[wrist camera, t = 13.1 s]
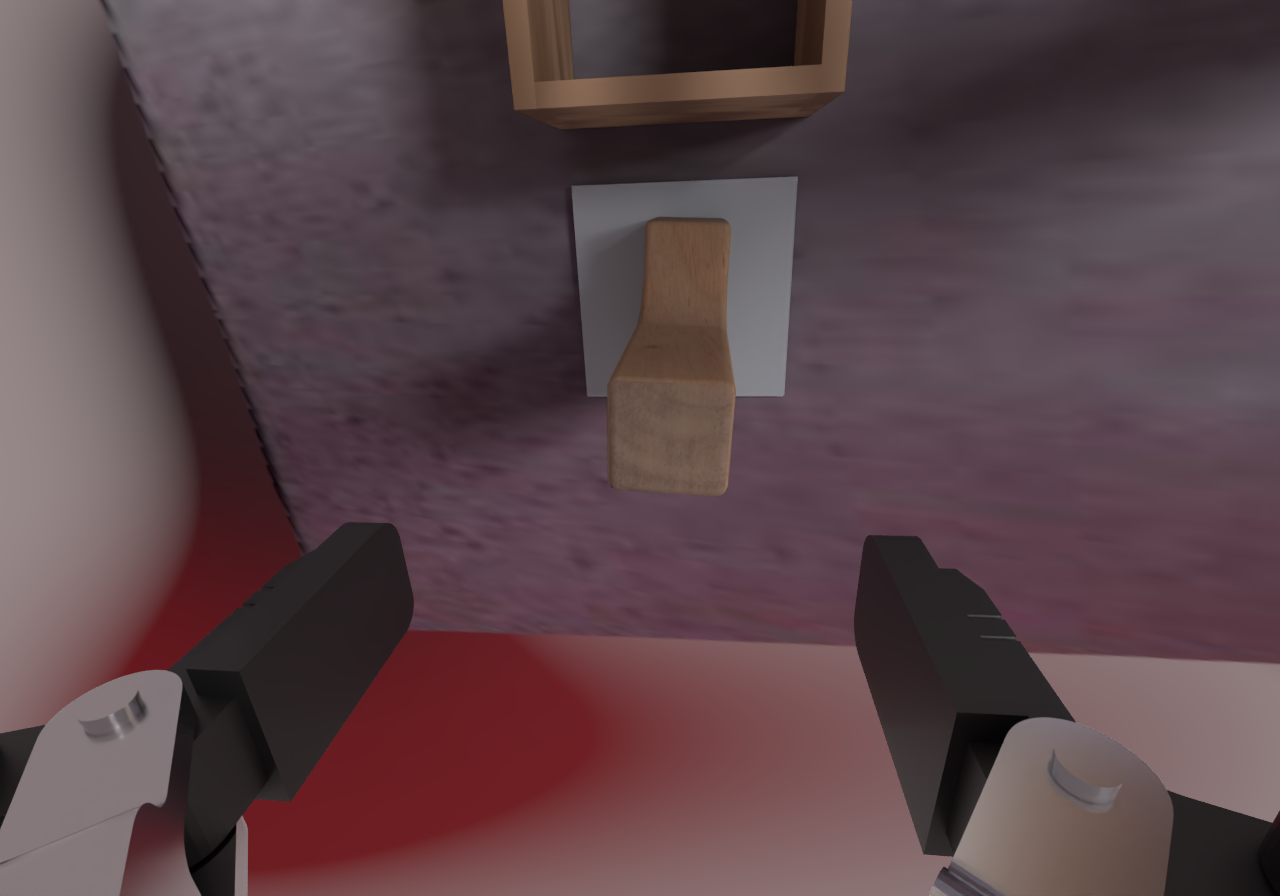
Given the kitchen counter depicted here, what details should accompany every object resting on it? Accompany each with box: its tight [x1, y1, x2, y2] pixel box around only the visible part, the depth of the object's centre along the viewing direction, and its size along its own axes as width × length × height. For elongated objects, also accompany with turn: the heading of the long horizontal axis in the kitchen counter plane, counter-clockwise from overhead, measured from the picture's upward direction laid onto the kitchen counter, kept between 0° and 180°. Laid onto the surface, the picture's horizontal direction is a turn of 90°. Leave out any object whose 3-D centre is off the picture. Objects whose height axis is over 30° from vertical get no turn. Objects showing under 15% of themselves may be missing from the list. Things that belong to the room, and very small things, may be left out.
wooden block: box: [607, 217, 736, 496], centre depth 28 cm, size 9×4×18 cm, turn 179°
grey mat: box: [571, 176, 798, 397], centre depth 37 cm, size 13×13×1 cm
